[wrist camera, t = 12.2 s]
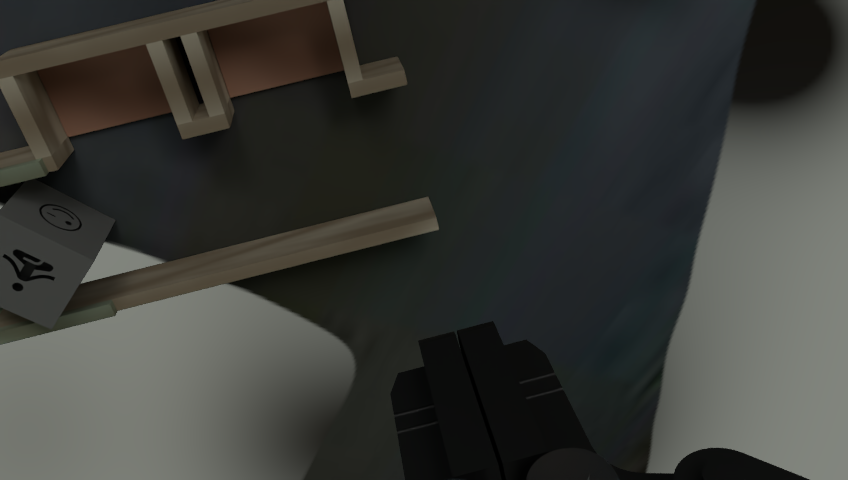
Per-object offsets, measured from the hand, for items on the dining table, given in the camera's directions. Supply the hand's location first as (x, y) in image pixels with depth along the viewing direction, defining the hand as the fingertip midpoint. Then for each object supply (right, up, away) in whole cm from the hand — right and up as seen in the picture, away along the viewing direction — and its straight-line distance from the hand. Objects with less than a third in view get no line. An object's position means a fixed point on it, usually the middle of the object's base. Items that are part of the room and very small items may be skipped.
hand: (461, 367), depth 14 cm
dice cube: (-22, +3, +28) cm, 36 cm away
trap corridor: (-15, +7, +27) cm, 31 cm away
